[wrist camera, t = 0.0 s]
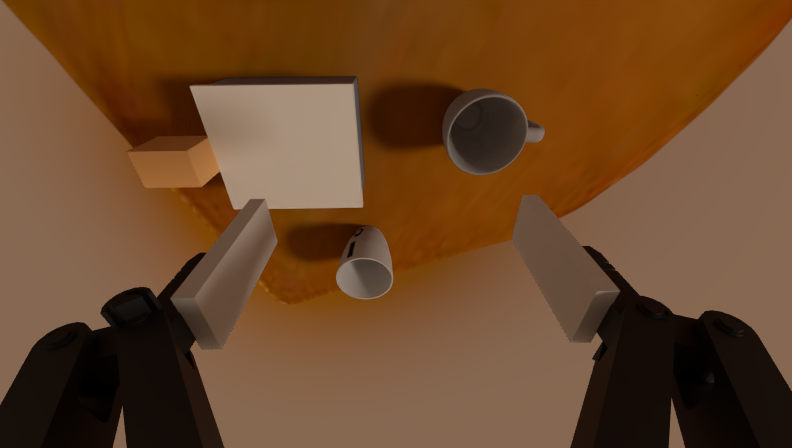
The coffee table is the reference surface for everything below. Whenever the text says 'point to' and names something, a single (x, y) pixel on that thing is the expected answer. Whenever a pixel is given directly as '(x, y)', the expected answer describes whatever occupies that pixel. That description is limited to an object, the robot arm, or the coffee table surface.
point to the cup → (365, 265)
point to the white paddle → (265, 146)
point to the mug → (486, 131)
